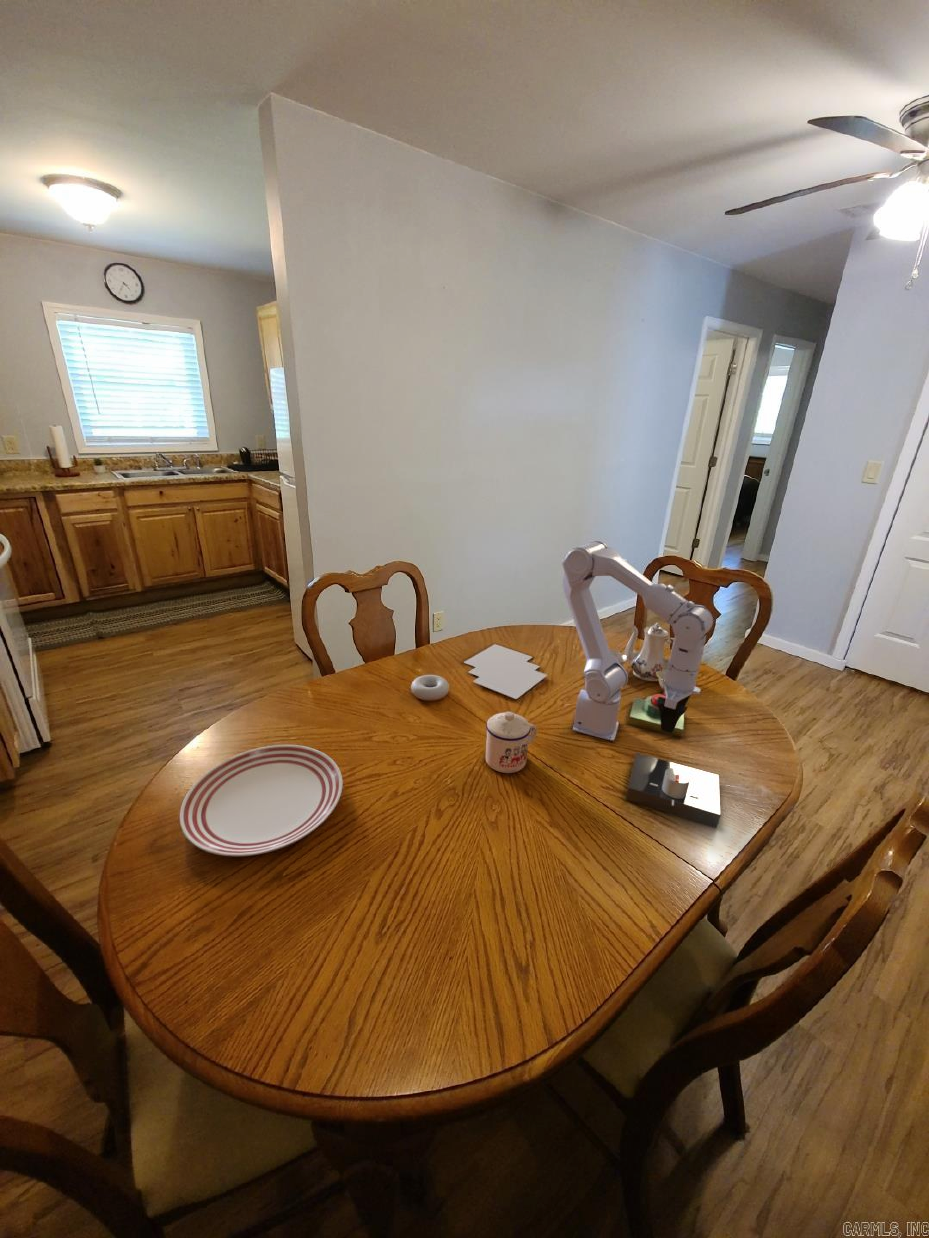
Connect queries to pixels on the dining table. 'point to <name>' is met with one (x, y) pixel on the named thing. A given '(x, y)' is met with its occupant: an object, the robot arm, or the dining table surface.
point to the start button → (656, 696)
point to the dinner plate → (261, 800)
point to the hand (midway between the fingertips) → (670, 722)
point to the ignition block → (651, 717)
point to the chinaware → (647, 655)
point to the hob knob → (675, 783)
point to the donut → (430, 687)
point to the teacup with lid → (508, 741)
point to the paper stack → (505, 671)
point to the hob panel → (694, 806)
